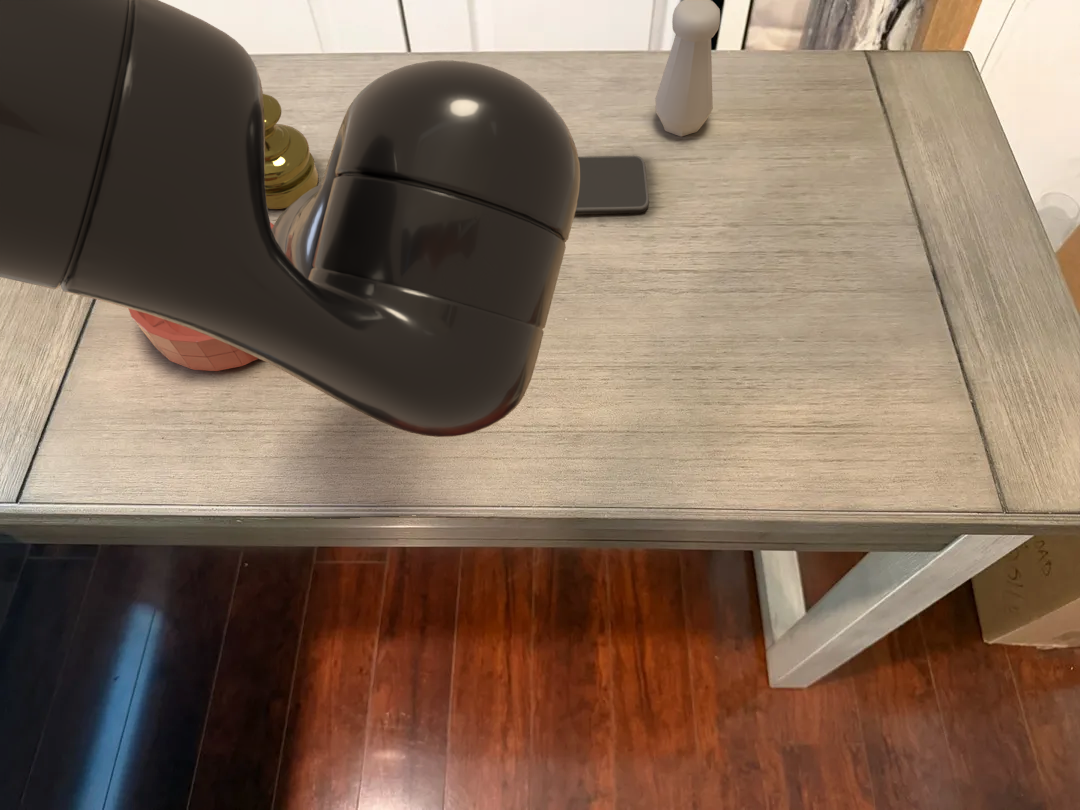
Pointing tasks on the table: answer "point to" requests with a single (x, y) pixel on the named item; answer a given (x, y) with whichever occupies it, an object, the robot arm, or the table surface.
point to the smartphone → (612, 185)
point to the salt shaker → (688, 68)
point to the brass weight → (285, 160)
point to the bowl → (190, 344)
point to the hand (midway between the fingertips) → (311, 264)
